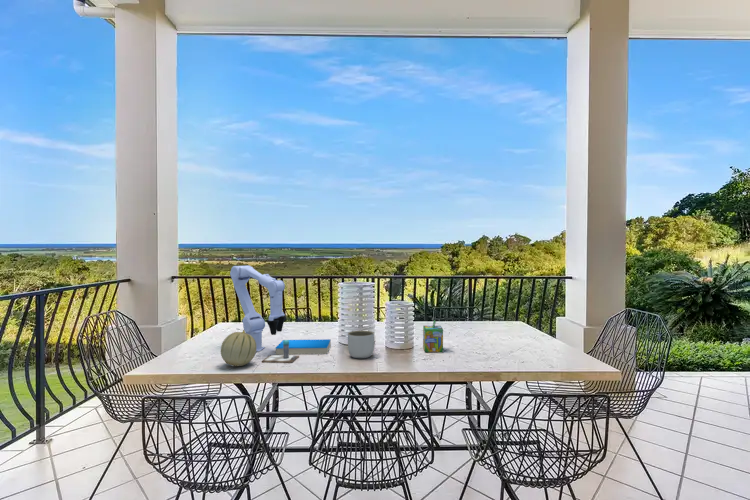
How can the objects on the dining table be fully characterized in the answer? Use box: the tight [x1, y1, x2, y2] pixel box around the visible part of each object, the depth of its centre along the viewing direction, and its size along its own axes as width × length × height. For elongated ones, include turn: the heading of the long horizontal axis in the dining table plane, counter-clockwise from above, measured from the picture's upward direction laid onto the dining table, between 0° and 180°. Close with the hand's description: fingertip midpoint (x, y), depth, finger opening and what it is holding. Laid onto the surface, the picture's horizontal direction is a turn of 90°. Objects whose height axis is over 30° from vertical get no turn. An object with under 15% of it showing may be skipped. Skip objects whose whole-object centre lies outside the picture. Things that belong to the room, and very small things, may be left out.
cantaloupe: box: [220, 329, 257, 367], centre depth 166 cm, size 15×15×15 cm
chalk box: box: [422, 319, 444, 353], centre depth 189 cm, size 9×9×15 cm
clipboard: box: [261, 354, 300, 364], centre depth 175 cm, size 14×10×1 cm
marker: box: [282, 339, 290, 359], centre depth 175 cm, size 3×3×8 cm
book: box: [275, 338, 332, 356], centre depth 192 cm, size 17×4×25 cm
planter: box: [347, 330, 375, 359], centre depth 179 cm, size 12×12×11 cm
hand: (276, 333), depth 186 cm, fingers open, 7 cm apart
